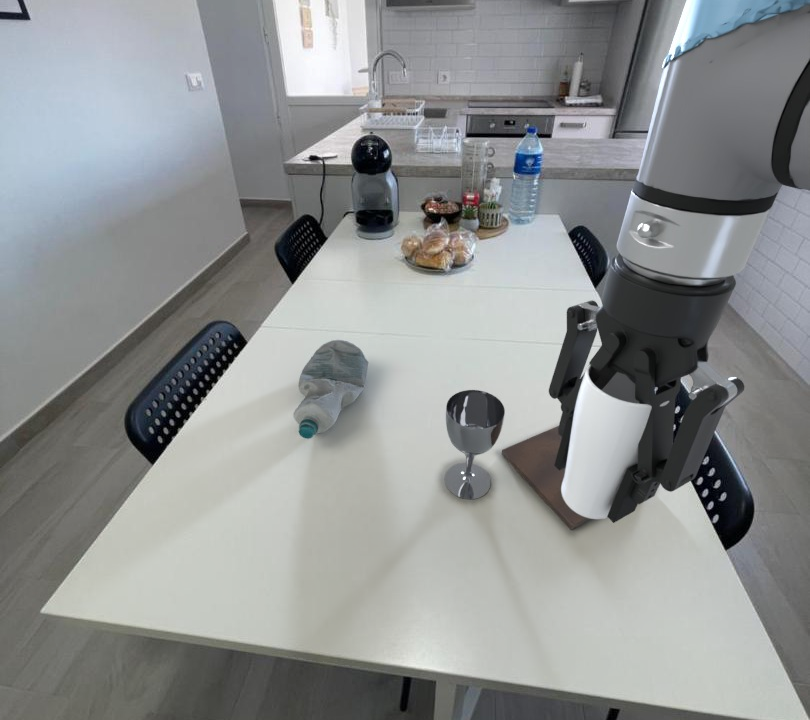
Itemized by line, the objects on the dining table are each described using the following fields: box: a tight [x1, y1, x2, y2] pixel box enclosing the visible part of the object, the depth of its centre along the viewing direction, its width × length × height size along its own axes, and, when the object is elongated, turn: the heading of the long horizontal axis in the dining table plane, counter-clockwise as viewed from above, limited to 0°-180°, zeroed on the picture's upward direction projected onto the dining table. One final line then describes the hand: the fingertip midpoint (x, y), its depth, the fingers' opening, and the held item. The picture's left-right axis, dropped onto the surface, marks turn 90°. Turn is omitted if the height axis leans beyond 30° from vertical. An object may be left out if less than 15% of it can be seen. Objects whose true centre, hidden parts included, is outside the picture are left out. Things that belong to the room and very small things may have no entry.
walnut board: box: [501, 425, 591, 531], centre depth 71 cm, size 16×16×1 cm
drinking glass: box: [561, 364, 669, 520], centre depth 40 cm, size 7×7×15 cm
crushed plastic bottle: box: [292, 339, 369, 439], centre depth 83 cm, size 13×7×25 cm
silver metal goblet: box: [444, 389, 506, 500], centre depth 65 cm, size 8×8×15 cm
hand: (592, 486), depth 43 cm, fingers closed on drinking glass, 6 cm apart
